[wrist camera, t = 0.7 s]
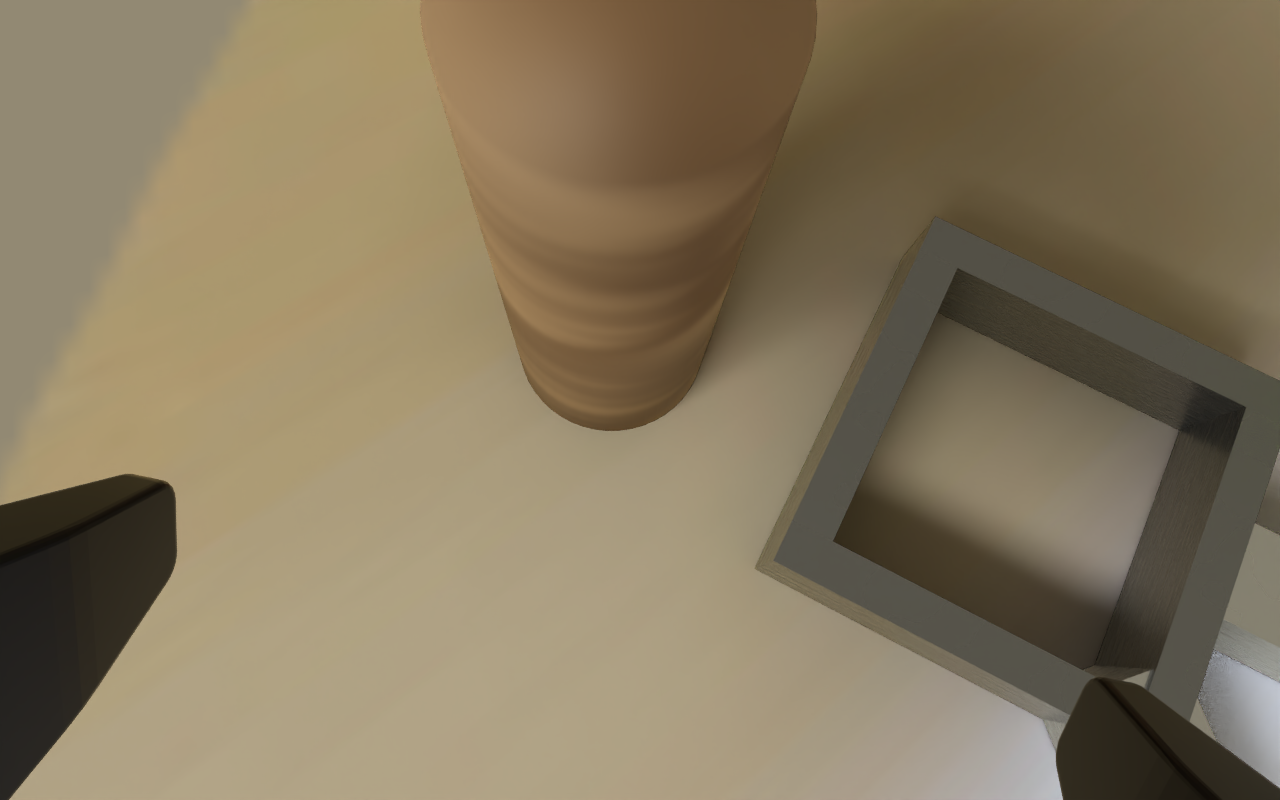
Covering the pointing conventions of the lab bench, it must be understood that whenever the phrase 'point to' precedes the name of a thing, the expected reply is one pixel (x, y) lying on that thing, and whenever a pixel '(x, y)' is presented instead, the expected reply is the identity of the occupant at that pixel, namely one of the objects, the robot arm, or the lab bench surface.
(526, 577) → the lab bench surface
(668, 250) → the walnut sleeve
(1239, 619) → the square collar with arms
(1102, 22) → the lab bench surface
